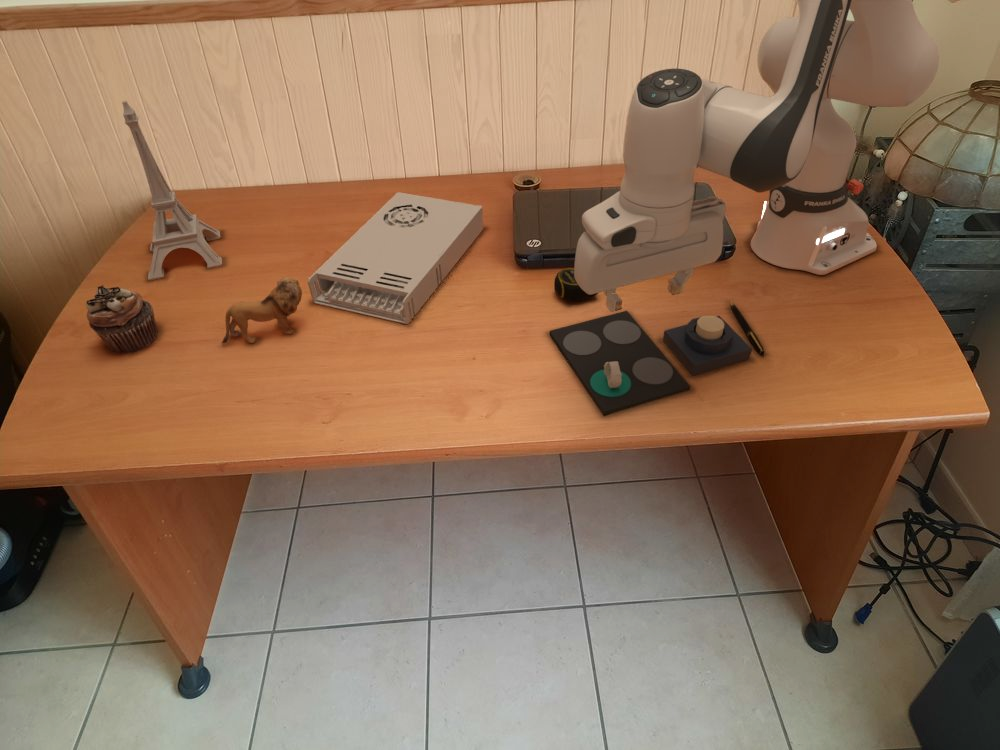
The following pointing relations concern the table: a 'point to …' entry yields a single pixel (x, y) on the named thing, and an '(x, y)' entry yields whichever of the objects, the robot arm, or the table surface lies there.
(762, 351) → the fountain pen
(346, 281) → the power supply unit
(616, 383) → the smartwatch
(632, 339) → the mat
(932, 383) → the table surface
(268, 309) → the lion figurine
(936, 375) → the table surface
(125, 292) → the cupcake
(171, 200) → the eiffel tower
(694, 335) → the dock
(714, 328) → the button
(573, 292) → the tape measure
